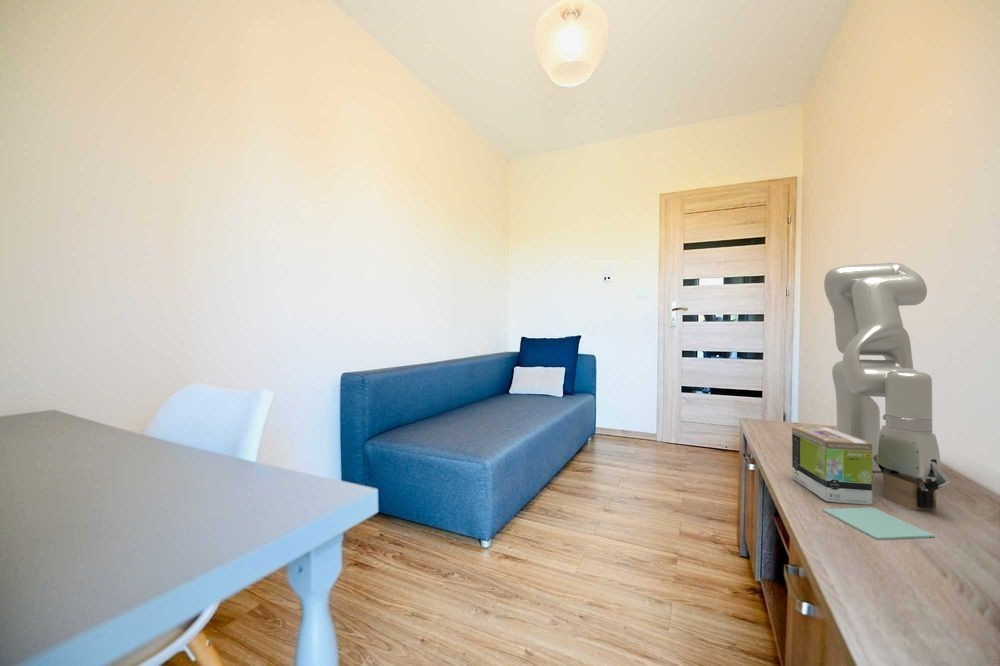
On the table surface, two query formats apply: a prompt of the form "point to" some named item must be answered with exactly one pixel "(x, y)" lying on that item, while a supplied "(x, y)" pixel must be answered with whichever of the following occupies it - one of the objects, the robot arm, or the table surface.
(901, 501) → the walnut cube
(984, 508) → the table surface
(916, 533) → the teal pad
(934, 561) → the table surface
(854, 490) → the tea box
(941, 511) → the table surface
